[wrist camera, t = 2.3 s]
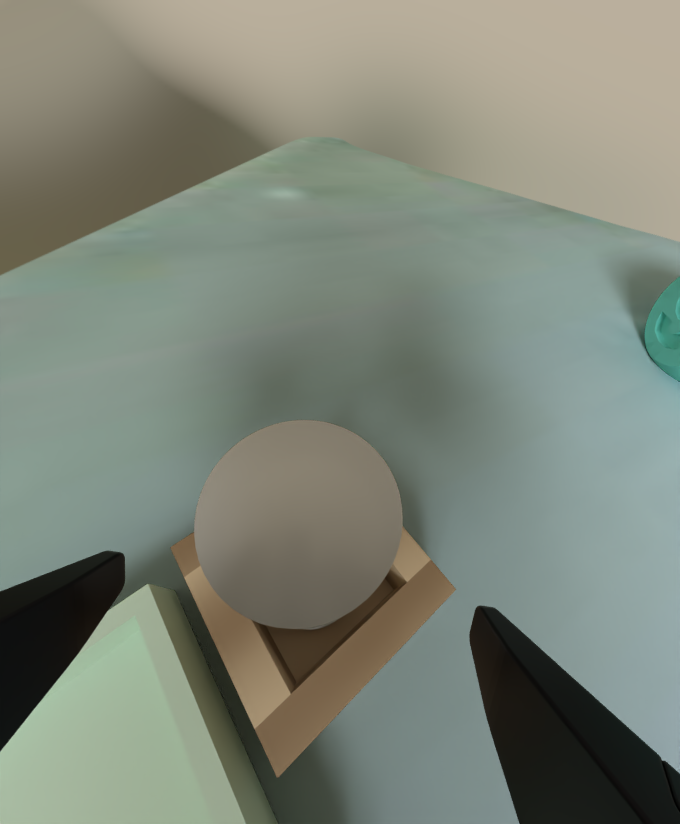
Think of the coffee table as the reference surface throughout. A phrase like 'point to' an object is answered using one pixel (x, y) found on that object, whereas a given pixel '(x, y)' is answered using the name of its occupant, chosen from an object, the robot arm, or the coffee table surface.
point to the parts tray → (132, 733)
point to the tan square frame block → (314, 649)
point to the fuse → (298, 524)
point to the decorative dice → (665, 331)
